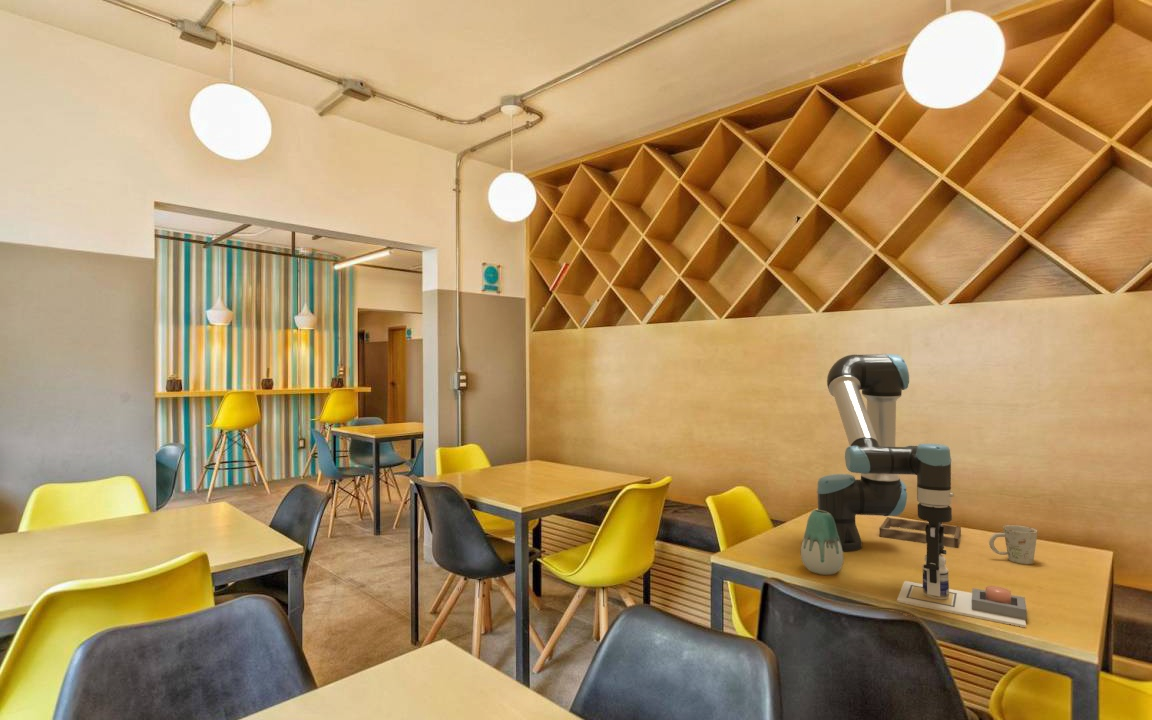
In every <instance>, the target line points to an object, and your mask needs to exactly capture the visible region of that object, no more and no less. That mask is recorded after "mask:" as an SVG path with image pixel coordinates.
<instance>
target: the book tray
mask: <svg viewBox="0 0 1152 720" xmlns="http://www.w3.org/2000/svg"><path fill="white" fill-rule="evenodd" d="M926 525H929V522H928V521H919V520H911V519H905V518H904V519H903V518H897V517H890V516H886V518H885V519H884V521H883V522H882V524H881V525H880V526H879V531H878V532H879V538H880V537H881V538H886V539H894V540H895V539H896V540H900V541H907V542H912V543H913V542H915V543H920V544H921V543H922V544H927V543H926V532H925V527H926ZM892 527H893V528H892ZM899 527H900V529H901V530H900V529H895V528H899ZM942 527H944V538H943V546H944V547H949V548H957V549H959V548H960V542H961V537H962V533H961V532H962V528H961V526H959V525H951V524H945V523H942ZM906 528H907V530H902V529H906ZM908 529H909V531H908ZM914 529H915V531H910V530H914ZM917 531H923V532H925V533H922V532H917ZM946 535H952V536H953V537H952V536H946Z"/></svg>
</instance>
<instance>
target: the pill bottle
mask: <svg viewBox="0 0 1152 720" xmlns="http://www.w3.org/2000/svg"><path fill="white" fill-rule="evenodd" d="M926 561H927V554H925V555H924V562H925V563H924V564H923V565H922V584H923V593H924V595H926V596H927V597H930V598H933V599H939V600H945V599H947V598H948V597H949V589H950V588H949V587H950V586H949V585H950V583H949V581H950V580H949V569H948V568H947V567H946V564H947V559H946V558H945V557H944V556H943V557H941V556H939V569H940V597H939V596H934V595H929V594H927V569H926V568H924V565H926ZM930 564H935V563H930Z"/></svg>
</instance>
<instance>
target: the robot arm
mask: <svg viewBox="0 0 1152 720" xmlns="http://www.w3.org/2000/svg"><path fill="white" fill-rule="evenodd" d="M826 385H827V389H828V392H829V394H830V395H831V396H833V398H834V400H835V404H836V406H837V409H838V413H839V416H840V419H841V422H842V426H843V428H844V431H845V435H846V438H847V441H848V445H849V446H847V447H846V448H845V451H844V460H845V467H846V469H847V470H848V471H849V472H851V473H854V474H860V479H856V477H855V476H854V475H852V474H847V473H846V474H843V473H838V474H830V475H825V476H822V477H820V478H819V479H818V481H817V489H816V493H817V510H823V511H826V512H829V513H830V514H831V515H832V516H833V518H834V521H835V524H836V528H837V532H838V536H839V539H840V542H841V545H842V550H843V552H854V551H859V550H861V549H862V546H863V543H862V538H861V535H860V532H859V530H858V527H857V525H856V524H857V523H856V516H858V515H859V516H882V517H891V516H892V517H896V516H899V515H902V513H903V512H904V510H905V508H906V506H907V500H908V499H907V498H908V492H907V486H906V483H905V482H904V481H902V480H901V477H900V475H915V476H916V501H917V502H918V504H917V517H918V518H919V519H920V520H923V521H925V522H928V523H929V525H926V527H925V531H924V532H925V534H926V543H925V544H926V555H927V561H926V562H925V564H926V565H924V564H923V565H924V568H926V569H927V594H929V595H934V596H939V597H940V569H939V556H941V557H944V555H947V550H946V549H945V546H943V538H944V536H945V534H944V527H942V524H946V523H950V522H951V521H952V520H953V517H952V515H953V514H952V507H951V506H950V505H952V498H954V497H955V494H954V493H953V492H952V490H951V489H952V457H951V449H950V448H949V446H948V445H945V444H940V443H939V444H937V443H920V444H918V445H906V446H896V433H897V432H896V428H897V427H896V426H897V425H896V422H897V420H896V419H897V401H898V400H899V399H900V398H901V397H902V394H903V393H902V392H903V391H905V390H907V389H908V388H909V385H910V373H909V369H908V366H907V363H906V361H905V359H904V358H903V357H902V356H900V355H899V354H890V353H889V354H888V353H876V354H849V355H846V356H843V357H841V358H840V359H838V360H836V362H835V363H833V365H832V366H831V367H830V369H829V370H828V374H827V378H826ZM860 390H861V392H860ZM862 396H863V397H864V398H865V400H866V406H865V402H864V400H863V397H862ZM930 563H935V564H930Z"/></svg>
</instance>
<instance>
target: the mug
mask: <svg viewBox="0 0 1152 720" xmlns="http://www.w3.org/2000/svg"><path fill="white" fill-rule="evenodd" d="M1002 529H1003V532H996V533H994V534H992V535H991V536H990V538H989V539H988V544H989V548H990V550H992V551H993V553H995V554H997V555H1002V556H1004V555H1005V556H1006V555H1007V556H1008V557H1007V558H1008V561H1010V562H1012V563H1016V564H1020V565H1033V564H1034V561H1035V560H1034V559H1035V554H1036V547H1037V546H1036V545H1037V538H1038V530H1037V529H1035V528H1032V527H1028V526H1023V525H1015V524H1014V525H1013V524H1012V525H1011V524H1008V525H1004V526H1003V527H1002ZM997 538H1004V539H1005V545H1006V546H1005V548H1006V551H999V550H998V549H997V548H996V546H995V540H996V539H997Z"/></svg>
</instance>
